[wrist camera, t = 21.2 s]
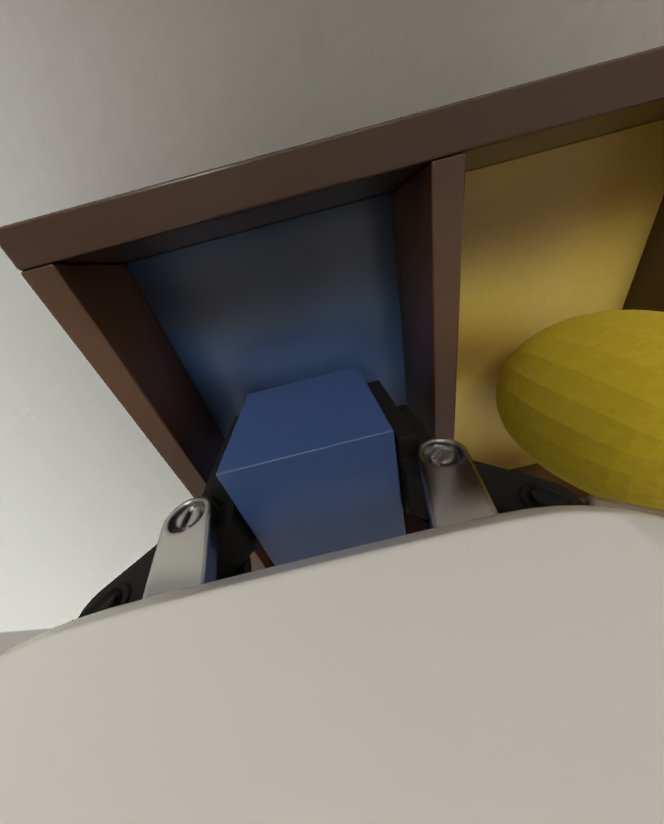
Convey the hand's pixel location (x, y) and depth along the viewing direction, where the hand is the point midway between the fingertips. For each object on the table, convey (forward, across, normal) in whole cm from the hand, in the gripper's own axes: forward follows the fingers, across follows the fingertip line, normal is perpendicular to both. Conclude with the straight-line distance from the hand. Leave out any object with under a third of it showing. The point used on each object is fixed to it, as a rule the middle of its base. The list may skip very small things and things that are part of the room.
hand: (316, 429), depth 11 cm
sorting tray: (+2, -5, 0) cm, 5 cm away
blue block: (0, 0, 0) cm, 0 cm away
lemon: (+1, -10, 0) cm, 10 cm away
